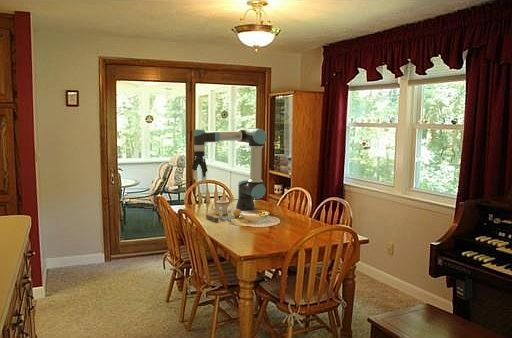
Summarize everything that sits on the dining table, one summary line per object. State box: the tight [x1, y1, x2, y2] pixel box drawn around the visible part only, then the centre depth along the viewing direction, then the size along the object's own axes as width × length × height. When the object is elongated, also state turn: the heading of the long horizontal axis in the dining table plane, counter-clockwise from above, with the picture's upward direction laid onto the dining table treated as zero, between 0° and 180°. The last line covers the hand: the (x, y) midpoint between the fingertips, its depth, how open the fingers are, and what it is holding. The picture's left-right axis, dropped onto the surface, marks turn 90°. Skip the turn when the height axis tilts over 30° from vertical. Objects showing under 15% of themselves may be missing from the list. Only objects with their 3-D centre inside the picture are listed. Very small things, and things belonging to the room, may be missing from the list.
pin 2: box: [227, 208, 232, 222], centre depth 321 cm, size 2×2×8 cm
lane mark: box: [218, 215, 240, 221], centre depth 330 cm, size 18×8×1 cm, turn 125°
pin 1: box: [218, 207, 224, 220], centre depth 325 cm, size 2×2×8 cm
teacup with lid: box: [211, 198, 228, 216], centre depth 344 cm, size 12×9×12 cm
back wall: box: [205, 213, 219, 223], centre depth 322 cm, size 14×2×3 cm, turn 35°
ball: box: [233, 209, 242, 217], centre depth 333 cm, size 6×6×6 cm
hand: (199, 180), depth 325 cm, fingers open, 13 cm apart
